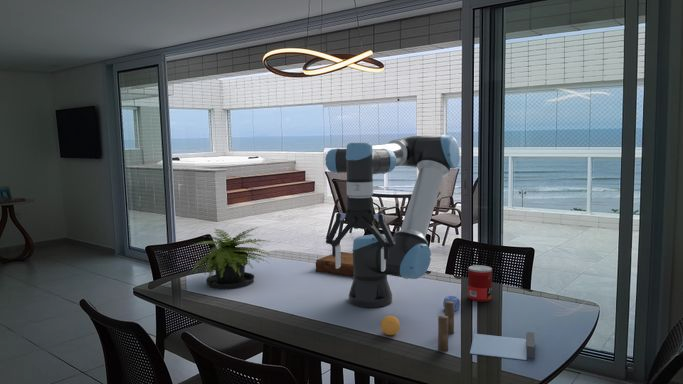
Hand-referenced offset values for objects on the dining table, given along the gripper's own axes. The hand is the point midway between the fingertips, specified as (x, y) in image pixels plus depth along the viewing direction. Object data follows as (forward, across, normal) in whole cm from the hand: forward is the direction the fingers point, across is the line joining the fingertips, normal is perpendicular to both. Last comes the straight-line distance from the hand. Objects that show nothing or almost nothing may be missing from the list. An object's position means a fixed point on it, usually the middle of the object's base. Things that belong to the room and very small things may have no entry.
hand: (360, 269), depth 150 cm
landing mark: (+19, +39, -2) cm, 43 cm away
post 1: (+19, +25, -7) cm, 32 cm away
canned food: (+18, +32, +40) cm, 55 cm away
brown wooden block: (+19, -22, +67) cm, 73 cm away
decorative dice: (+19, +24, +26) cm, 40 cm away
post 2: (+19, +25, +5) cm, 32 cm away
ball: (+16, +9, 0) cm, 18 cm away
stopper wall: (+19, +47, -2) cm, 50 cm away
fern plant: (+19, -64, +38) cm, 76 cm away
